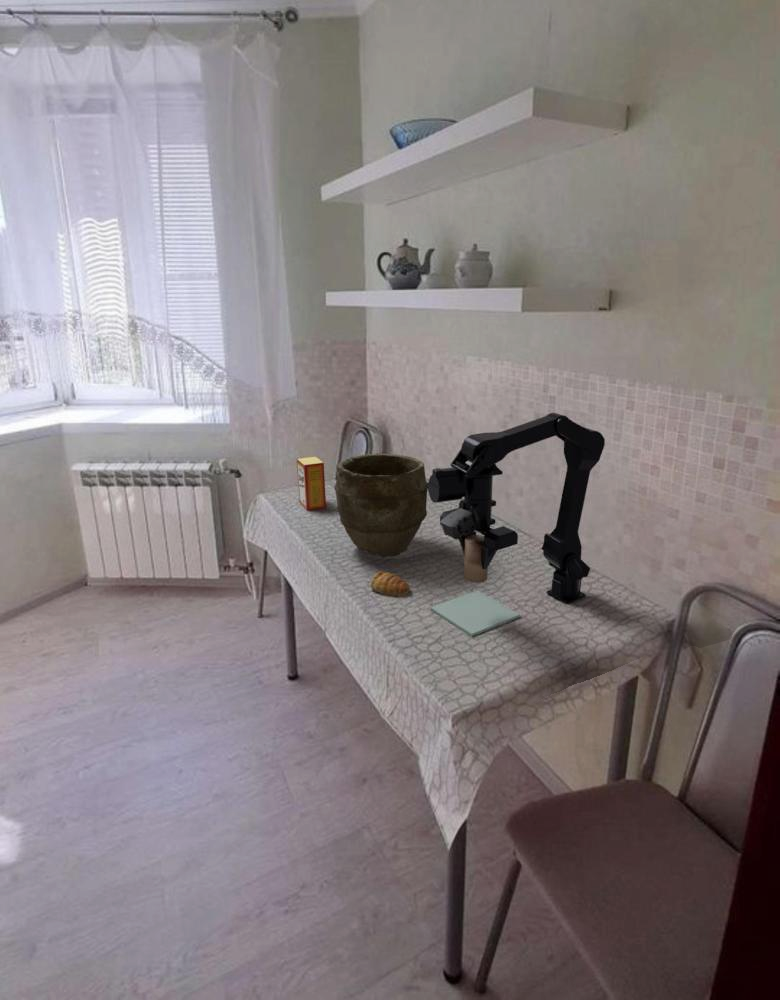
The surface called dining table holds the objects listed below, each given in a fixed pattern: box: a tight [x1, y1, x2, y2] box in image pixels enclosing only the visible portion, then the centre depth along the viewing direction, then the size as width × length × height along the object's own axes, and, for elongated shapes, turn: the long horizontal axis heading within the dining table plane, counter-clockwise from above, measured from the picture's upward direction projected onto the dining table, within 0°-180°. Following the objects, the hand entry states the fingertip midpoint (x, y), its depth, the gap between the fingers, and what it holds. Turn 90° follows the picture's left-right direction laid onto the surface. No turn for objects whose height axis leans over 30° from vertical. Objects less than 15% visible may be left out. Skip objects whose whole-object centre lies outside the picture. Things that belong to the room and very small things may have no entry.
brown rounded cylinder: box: [463, 534, 489, 584], centre depth 132 cm, size 5×5×9 cm
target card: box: [429, 590, 521, 637], centre depth 137 cm, size 14×14×1 cm
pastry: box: [370, 571, 411, 597], centre depth 148 cm, size 9×7×4 cm
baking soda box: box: [296, 455, 327, 512], centre depth 206 cm, size 10×6×16 cm
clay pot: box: [333, 452, 428, 558], centre depth 169 cm, size 25×25×25 cm
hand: (476, 564), depth 133 cm, fingers closed on brown rounded cylinder, 5 cm apart
